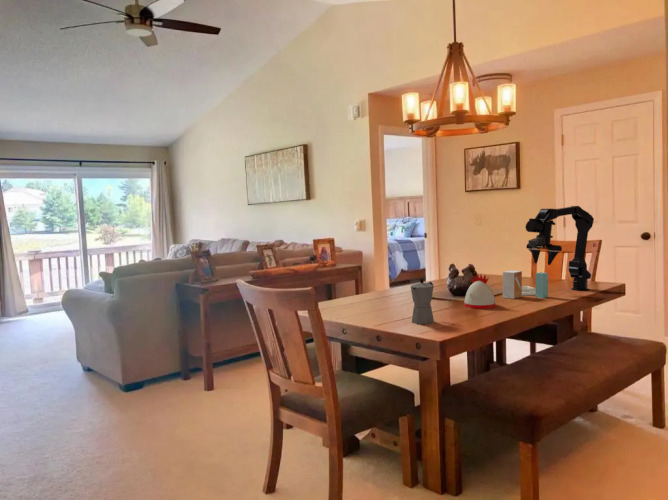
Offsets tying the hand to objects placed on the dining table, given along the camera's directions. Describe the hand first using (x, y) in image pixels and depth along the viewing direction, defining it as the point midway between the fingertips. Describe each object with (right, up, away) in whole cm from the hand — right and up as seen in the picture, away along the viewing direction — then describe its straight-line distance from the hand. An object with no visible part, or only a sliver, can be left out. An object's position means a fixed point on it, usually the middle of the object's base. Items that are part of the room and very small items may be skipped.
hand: (542, 264), depth 263 cm
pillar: (-3, -16, -6) cm, 17 cm away
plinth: (-7, -15, +6) cm, 18 cm away
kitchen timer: (-38, -19, -21) cm, 47 cm away
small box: (-16, -17, -3) cm, 23 cm away
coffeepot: (-68, -22, -49) cm, 87 cm away
